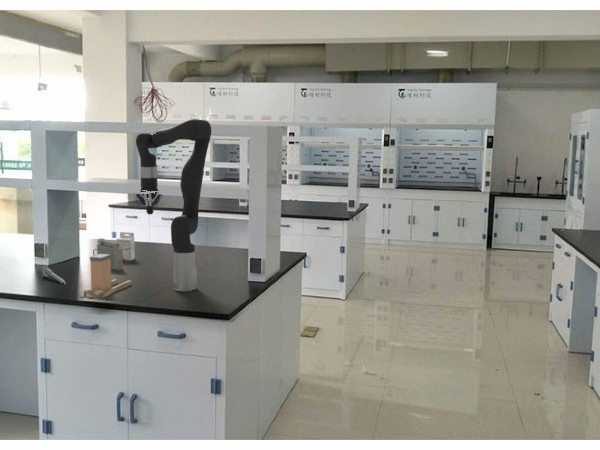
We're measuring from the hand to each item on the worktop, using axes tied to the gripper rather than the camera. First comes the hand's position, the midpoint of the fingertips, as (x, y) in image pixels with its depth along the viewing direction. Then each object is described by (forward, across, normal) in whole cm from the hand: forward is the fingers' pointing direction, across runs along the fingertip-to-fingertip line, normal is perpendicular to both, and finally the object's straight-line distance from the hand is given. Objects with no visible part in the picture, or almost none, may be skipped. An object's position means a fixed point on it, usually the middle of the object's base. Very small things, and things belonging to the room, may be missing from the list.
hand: (150, 214), depth 279 cm
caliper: (+31, -42, -15) cm, 55 cm away
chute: (+32, -6, -26) cm, 41 cm away
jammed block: (+30, -6, -32) cm, 44 cm away
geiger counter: (+31, -37, +19) cm, 52 cm away
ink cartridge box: (+31, -37, +38) cm, 62 cm away
